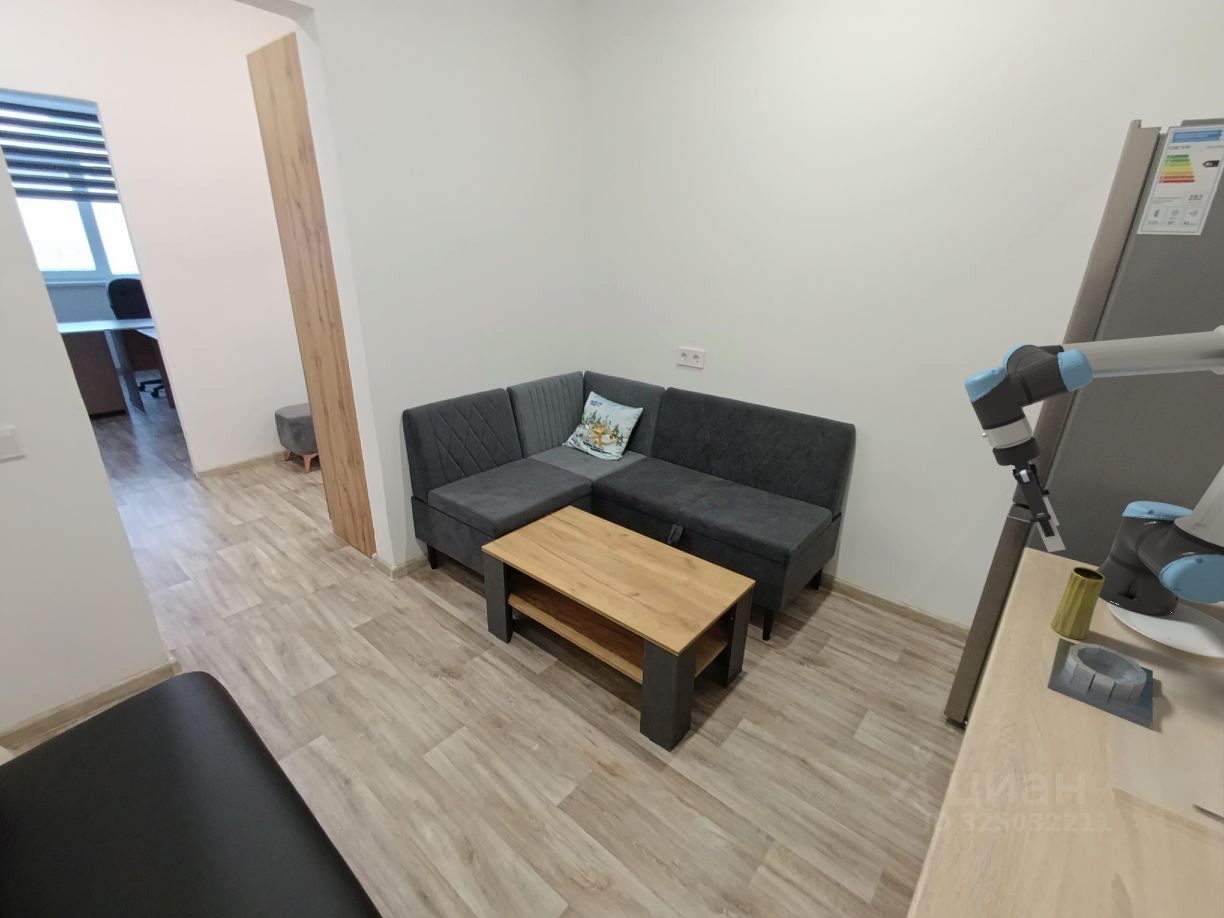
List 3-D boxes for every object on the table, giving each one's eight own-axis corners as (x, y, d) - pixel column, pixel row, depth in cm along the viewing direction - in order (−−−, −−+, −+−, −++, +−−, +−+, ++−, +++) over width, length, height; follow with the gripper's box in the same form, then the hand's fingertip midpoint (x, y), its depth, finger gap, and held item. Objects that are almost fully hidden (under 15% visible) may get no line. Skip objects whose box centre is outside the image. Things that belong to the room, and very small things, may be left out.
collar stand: (1057, 643, 112) (1063, 625, 111) (1150, 676, 104) (1158, 658, 102) (1047, 687, 102) (1053, 668, 100) (1149, 728, 93) (1158, 708, 91)
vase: (1094, 641, 113) (1115, 582, 108) (1061, 638, 114) (1081, 580, 109) (1075, 622, 119) (1095, 566, 113) (1044, 620, 120) (1062, 564, 114)
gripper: (991, 435, 123) (1029, 521, 123) (990, 462, 103) (1034, 565, 103) (1031, 423, 118) (1070, 513, 118) (1037, 450, 99) (1084, 557, 98)
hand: (1054, 537), depth 111 cm, fingers open, 13 cm apart
